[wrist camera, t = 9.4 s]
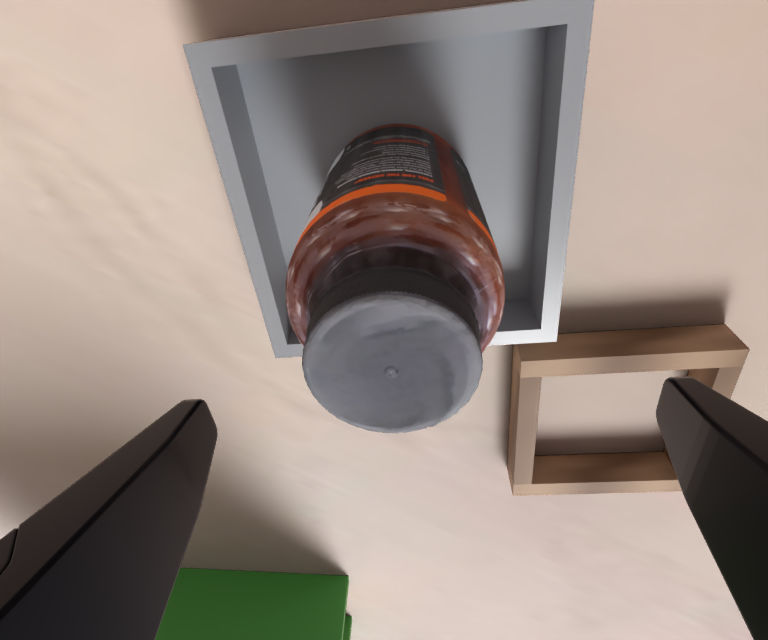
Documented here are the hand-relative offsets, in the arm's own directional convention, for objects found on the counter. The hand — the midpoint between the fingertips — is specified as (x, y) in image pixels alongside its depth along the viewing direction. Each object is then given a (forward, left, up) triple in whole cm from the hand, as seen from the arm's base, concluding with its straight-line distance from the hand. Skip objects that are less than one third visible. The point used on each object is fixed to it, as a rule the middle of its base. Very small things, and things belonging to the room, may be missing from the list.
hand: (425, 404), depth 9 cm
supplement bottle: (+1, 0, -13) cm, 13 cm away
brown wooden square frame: (-9, +13, -13) cm, 20 cm away
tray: (+1, 0, -13) cm, 13 cm away
